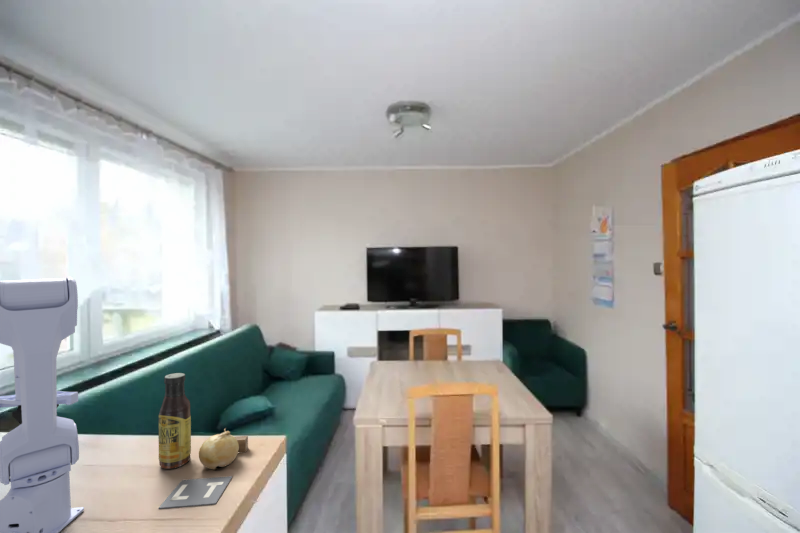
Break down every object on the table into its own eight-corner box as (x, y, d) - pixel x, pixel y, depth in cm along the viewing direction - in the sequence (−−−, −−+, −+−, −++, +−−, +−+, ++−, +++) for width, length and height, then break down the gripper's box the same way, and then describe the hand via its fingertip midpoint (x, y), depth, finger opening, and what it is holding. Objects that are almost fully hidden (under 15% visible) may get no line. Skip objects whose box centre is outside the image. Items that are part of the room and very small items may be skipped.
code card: (215, 504, 71) (215, 502, 71) (158, 508, 70) (158, 507, 70) (232, 477, 80) (232, 475, 80) (182, 480, 79) (182, 479, 79)
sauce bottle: (152, 469, 84) (148, 378, 84) (175, 455, 90) (171, 370, 90) (177, 472, 83) (173, 380, 82) (198, 457, 89) (195, 371, 88)
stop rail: (245, 452, 91) (245, 439, 90) (205, 455, 90) (205, 442, 90) (248, 448, 93) (247, 435, 92) (209, 450, 92) (208, 438, 92)
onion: (227, 474, 81) (226, 441, 81) (191, 474, 82) (190, 440, 82) (245, 455, 89) (244, 424, 89) (212, 454, 90) (211, 424, 90)
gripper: (87, 366, 82) (90, 429, 82) (13, 369, 80) (16, 434, 81) (61, 376, 75) (64, 445, 75) (-21, 380, 73) (-17, 451, 74)
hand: (37, 441), depth 77 cm, fingers closed
